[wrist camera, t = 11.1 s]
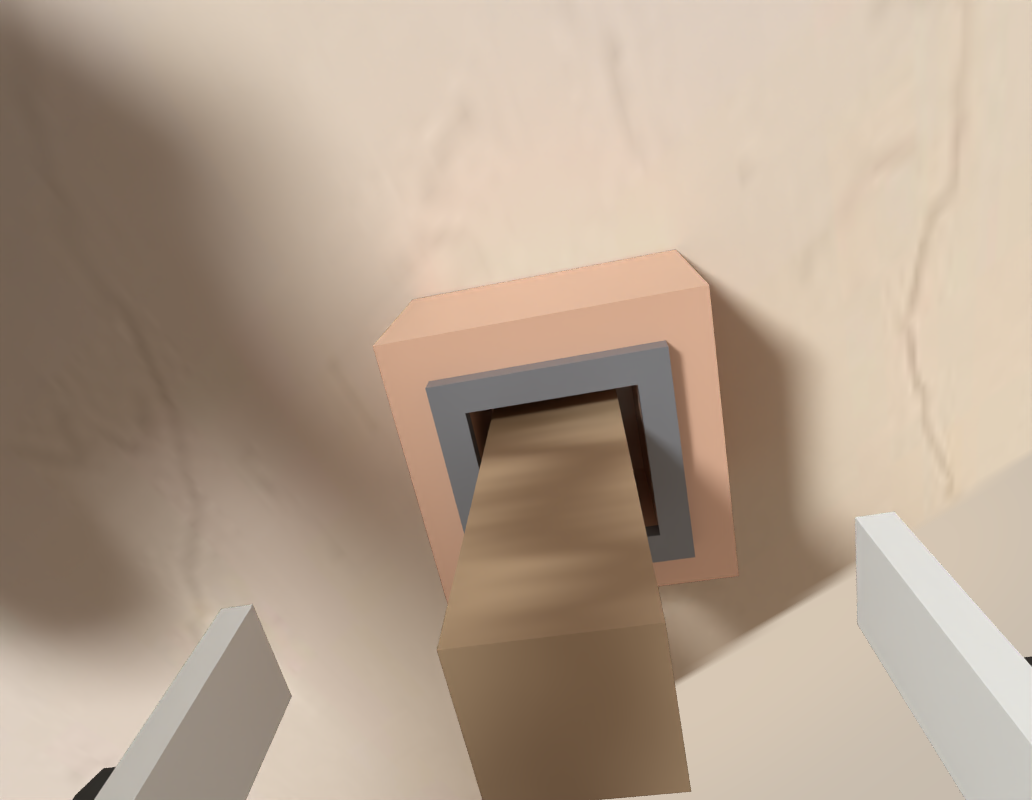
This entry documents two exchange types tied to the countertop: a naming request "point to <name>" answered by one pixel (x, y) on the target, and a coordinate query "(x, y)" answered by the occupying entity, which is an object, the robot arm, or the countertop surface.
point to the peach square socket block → (565, 372)
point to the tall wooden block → (561, 615)
